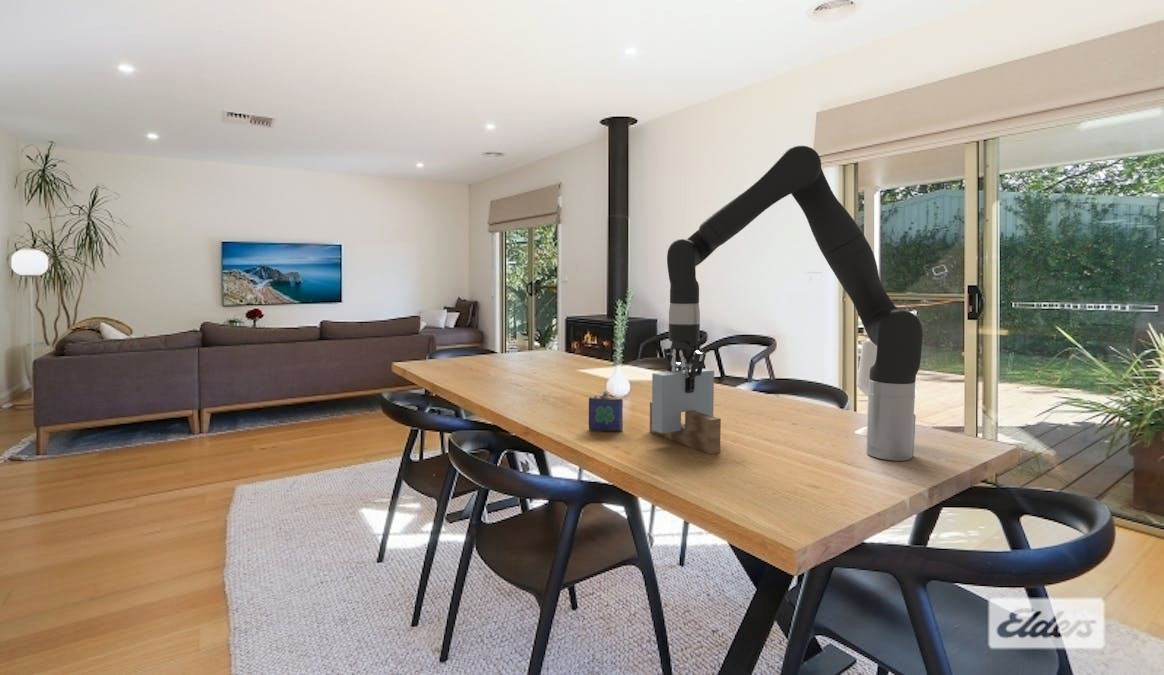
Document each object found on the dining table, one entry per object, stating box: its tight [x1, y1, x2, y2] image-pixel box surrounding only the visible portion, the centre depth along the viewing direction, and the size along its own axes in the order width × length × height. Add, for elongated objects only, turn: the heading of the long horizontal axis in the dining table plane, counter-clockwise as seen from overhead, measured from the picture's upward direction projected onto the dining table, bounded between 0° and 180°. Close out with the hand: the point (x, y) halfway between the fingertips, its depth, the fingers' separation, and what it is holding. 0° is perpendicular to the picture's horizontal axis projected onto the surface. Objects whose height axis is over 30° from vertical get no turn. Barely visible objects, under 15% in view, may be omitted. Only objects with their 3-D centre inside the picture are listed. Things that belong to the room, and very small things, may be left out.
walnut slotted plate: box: [649, 401, 722, 455], centre depth 148 cm, size 24×3×8 cm, turn 29°
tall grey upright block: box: [651, 368, 715, 433], centre depth 148 cm, size 4×16×14 cm, turn 119°
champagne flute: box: [854, 340, 877, 437], centre depth 154 cm, size 7×7×24 cm
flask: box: [588, 391, 624, 433], centre depth 159 cm, size 9×3×11 cm, turn 80°
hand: (683, 390), depth 147 cm, fingers closed on tall grey upright block, 4 cm apart
